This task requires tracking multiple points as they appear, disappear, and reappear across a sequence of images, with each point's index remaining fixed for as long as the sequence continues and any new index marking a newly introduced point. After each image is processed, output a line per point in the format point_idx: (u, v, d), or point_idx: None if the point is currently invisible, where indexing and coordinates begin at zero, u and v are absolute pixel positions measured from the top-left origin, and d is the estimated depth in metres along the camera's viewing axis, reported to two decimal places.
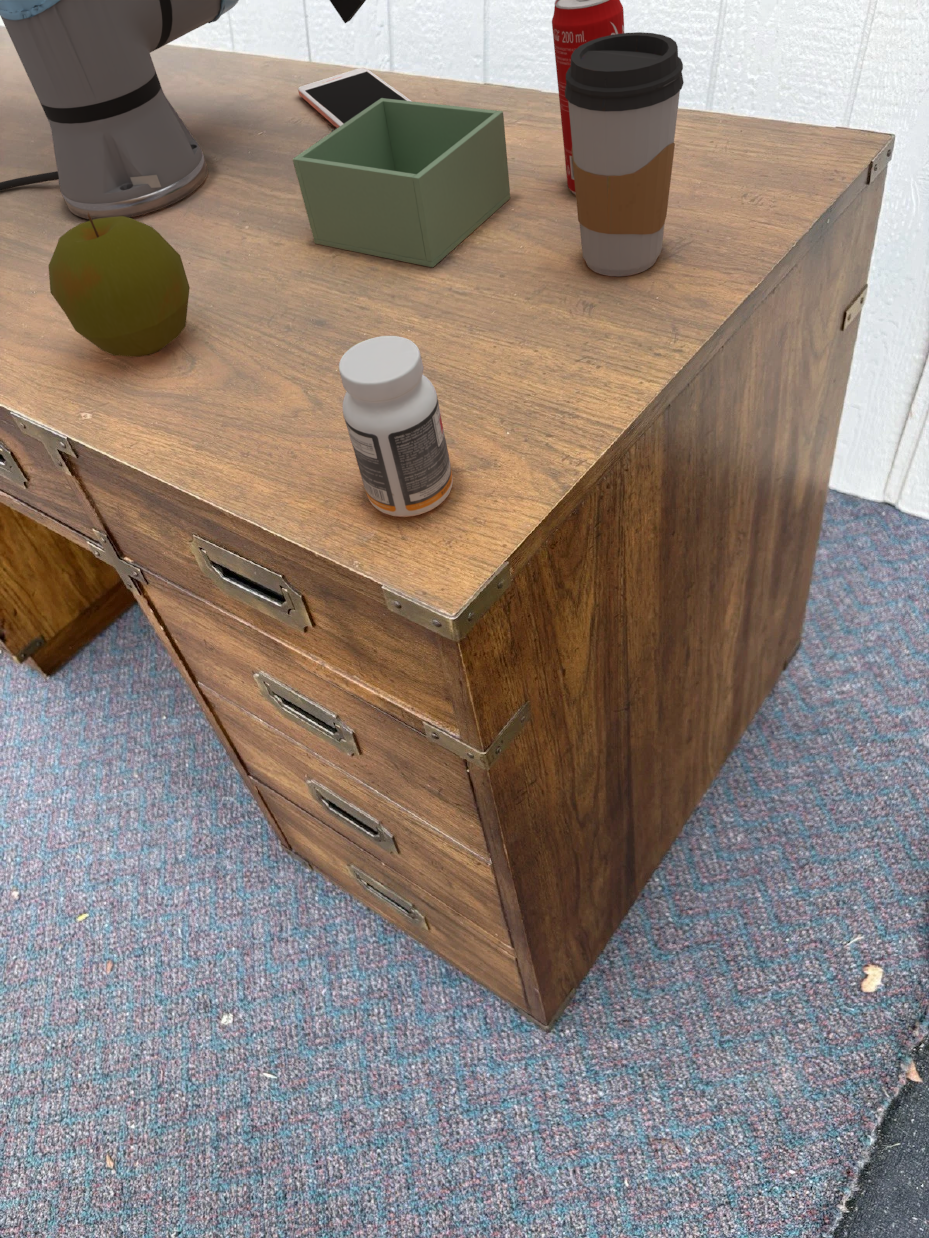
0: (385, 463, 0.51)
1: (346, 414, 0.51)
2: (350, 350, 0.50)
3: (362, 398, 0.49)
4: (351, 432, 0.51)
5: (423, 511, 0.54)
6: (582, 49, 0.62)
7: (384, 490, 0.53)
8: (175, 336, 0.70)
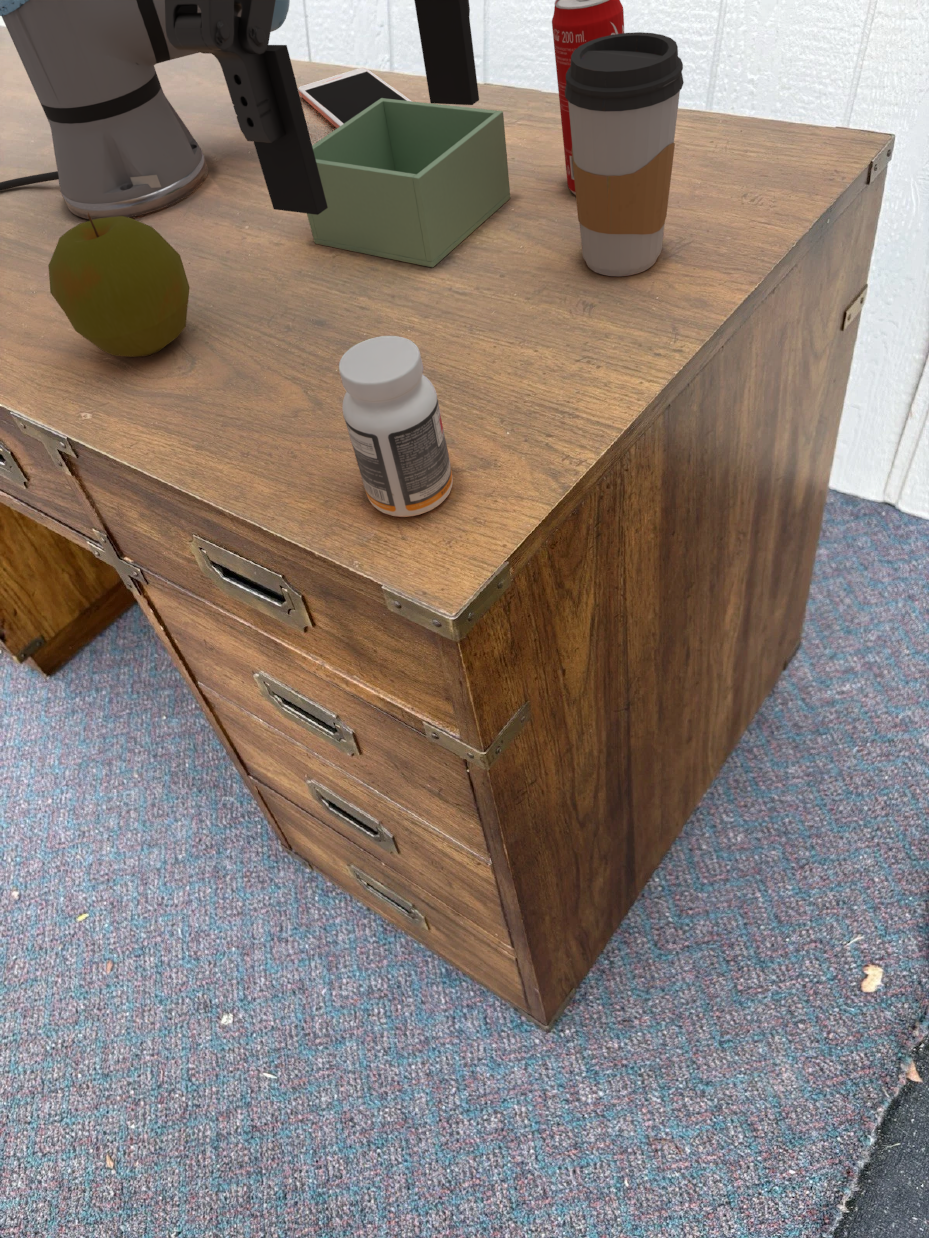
0: (385, 463, 0.51)
1: (346, 414, 0.51)
2: (350, 350, 0.50)
3: (362, 398, 0.49)
4: (351, 432, 0.51)
5: (423, 510, 0.54)
6: (582, 49, 0.62)
7: (384, 490, 0.53)
8: (175, 336, 0.70)
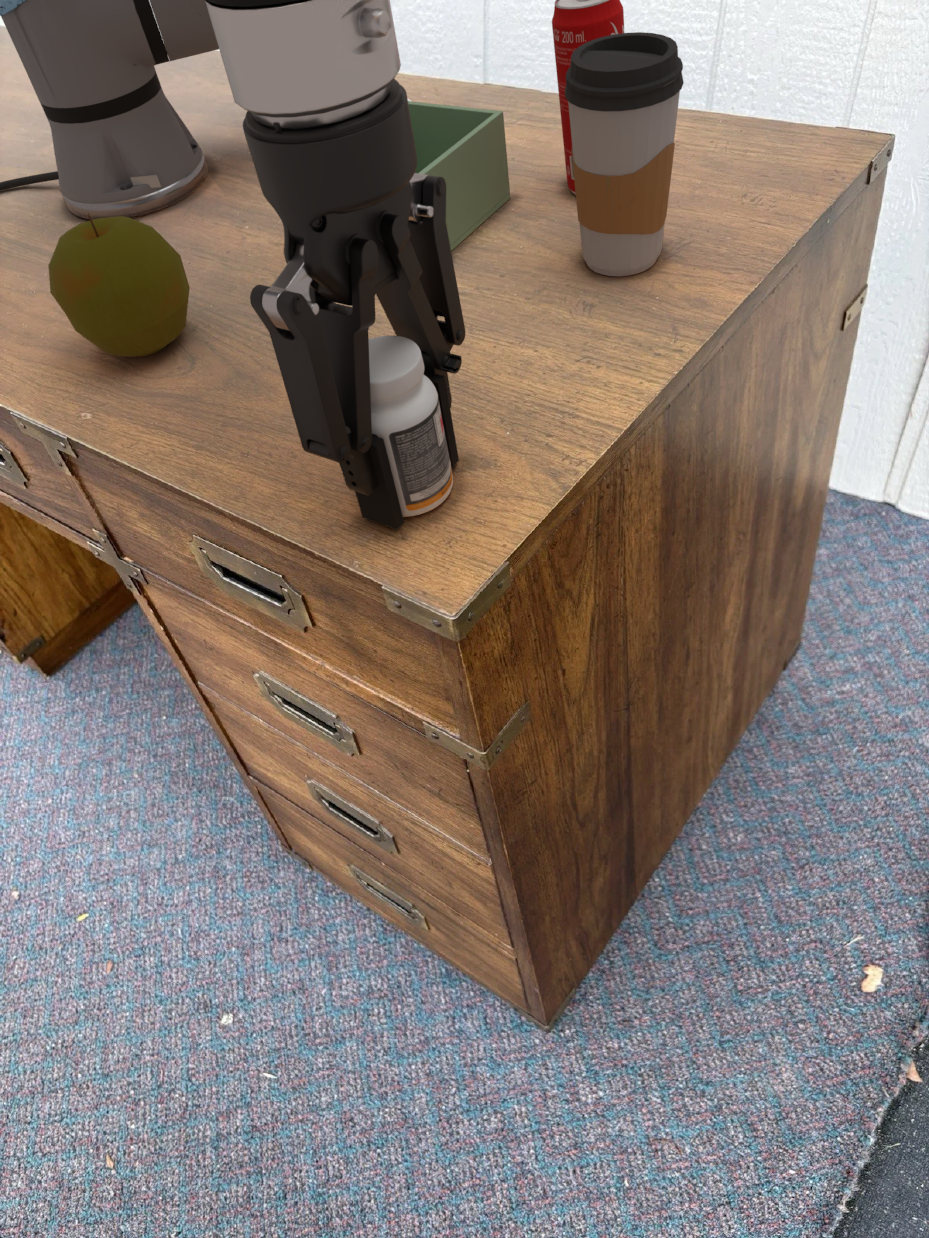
0: None
1: None
2: None
3: None
4: None
5: (423, 510, 0.54)
6: (582, 49, 0.62)
7: None
8: (175, 336, 0.70)
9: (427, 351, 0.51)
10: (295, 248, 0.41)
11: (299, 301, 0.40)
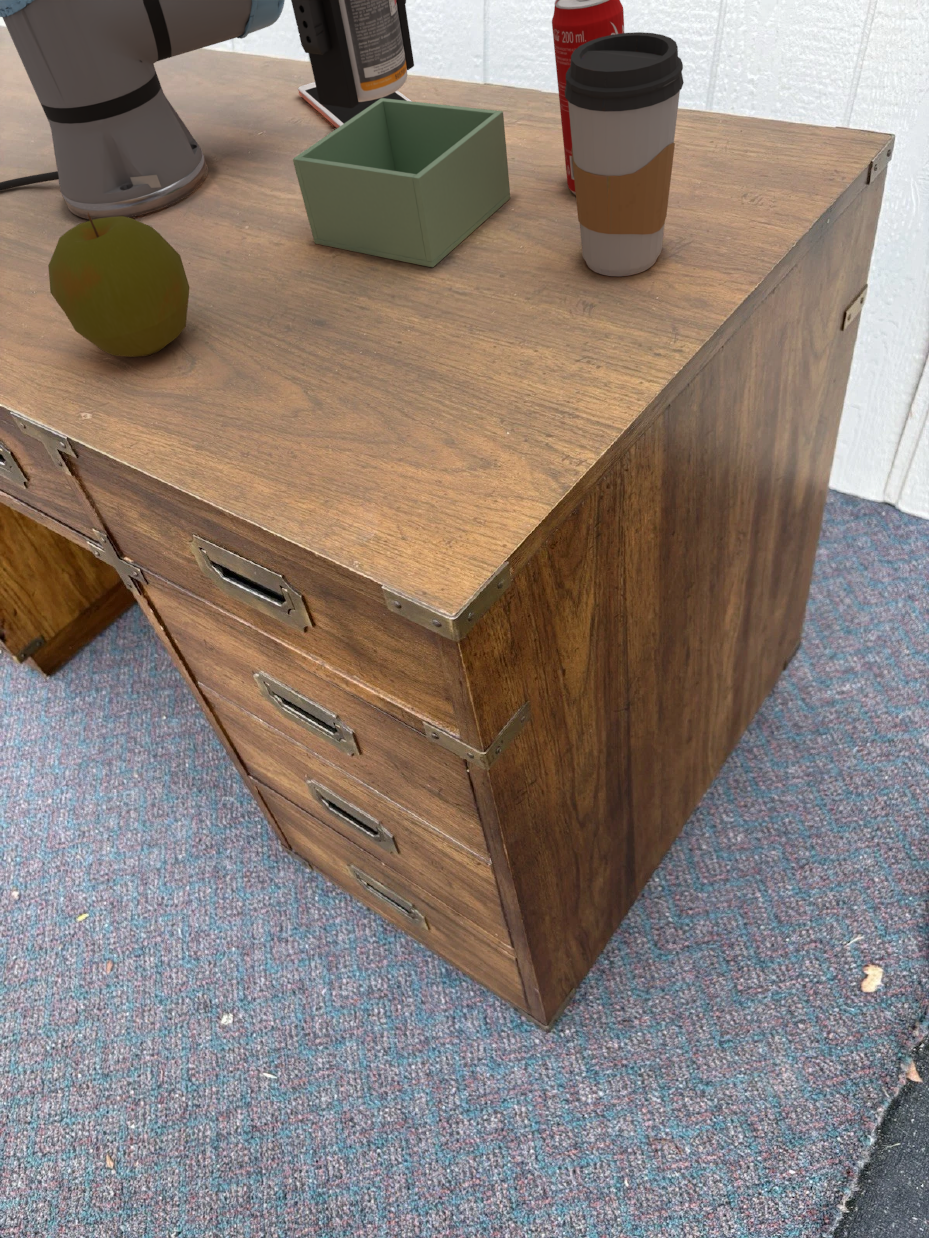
0: None
1: None
2: None
3: None
4: None
5: (377, 93, 0.57)
6: (582, 49, 0.62)
7: None
8: (175, 336, 0.70)
9: None
10: None
11: None
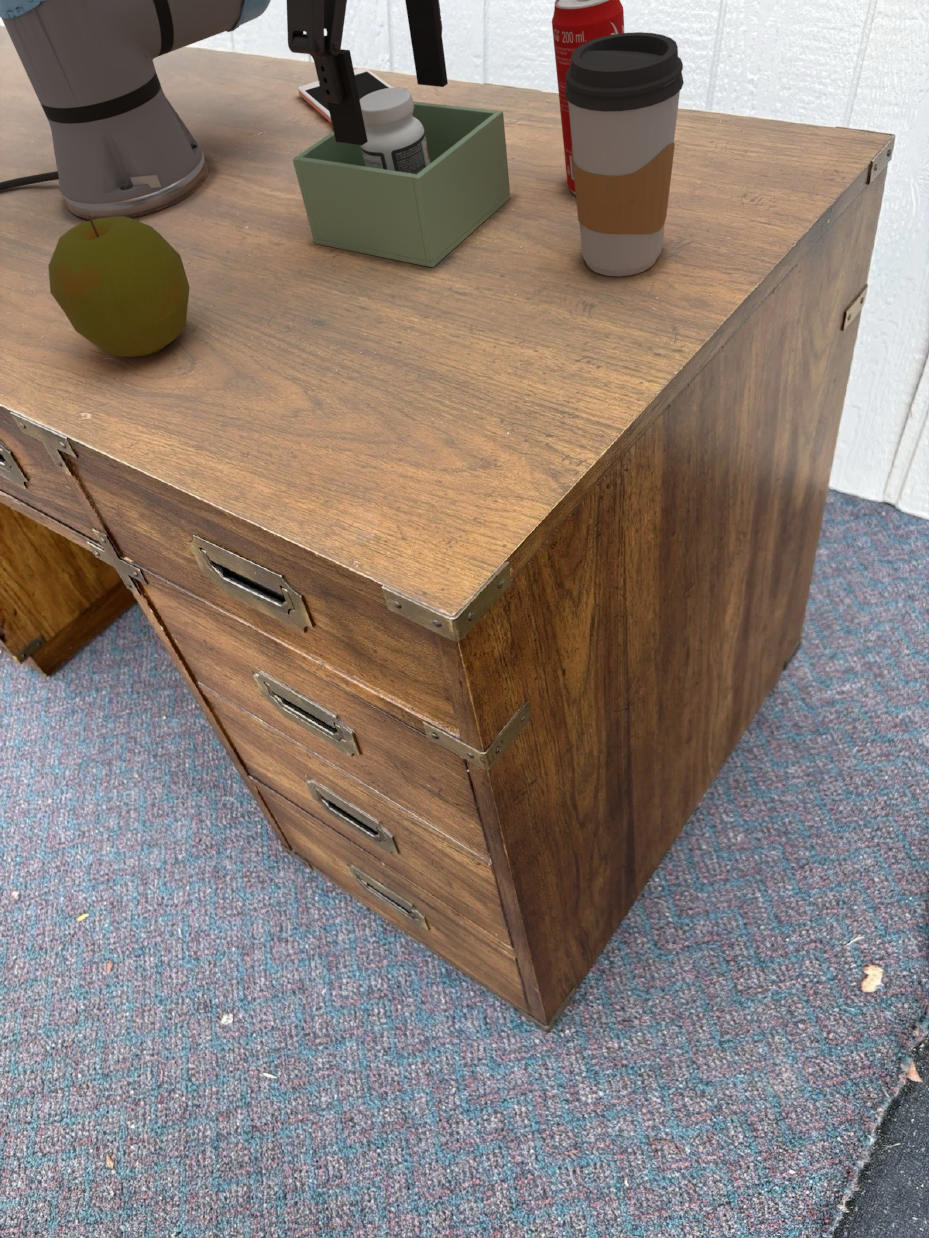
0: None
1: None
2: (364, 97, 0.74)
3: (372, 124, 0.72)
4: (366, 156, 0.75)
5: None
6: (582, 49, 0.62)
7: None
8: (175, 336, 0.70)
9: None
10: None
11: None
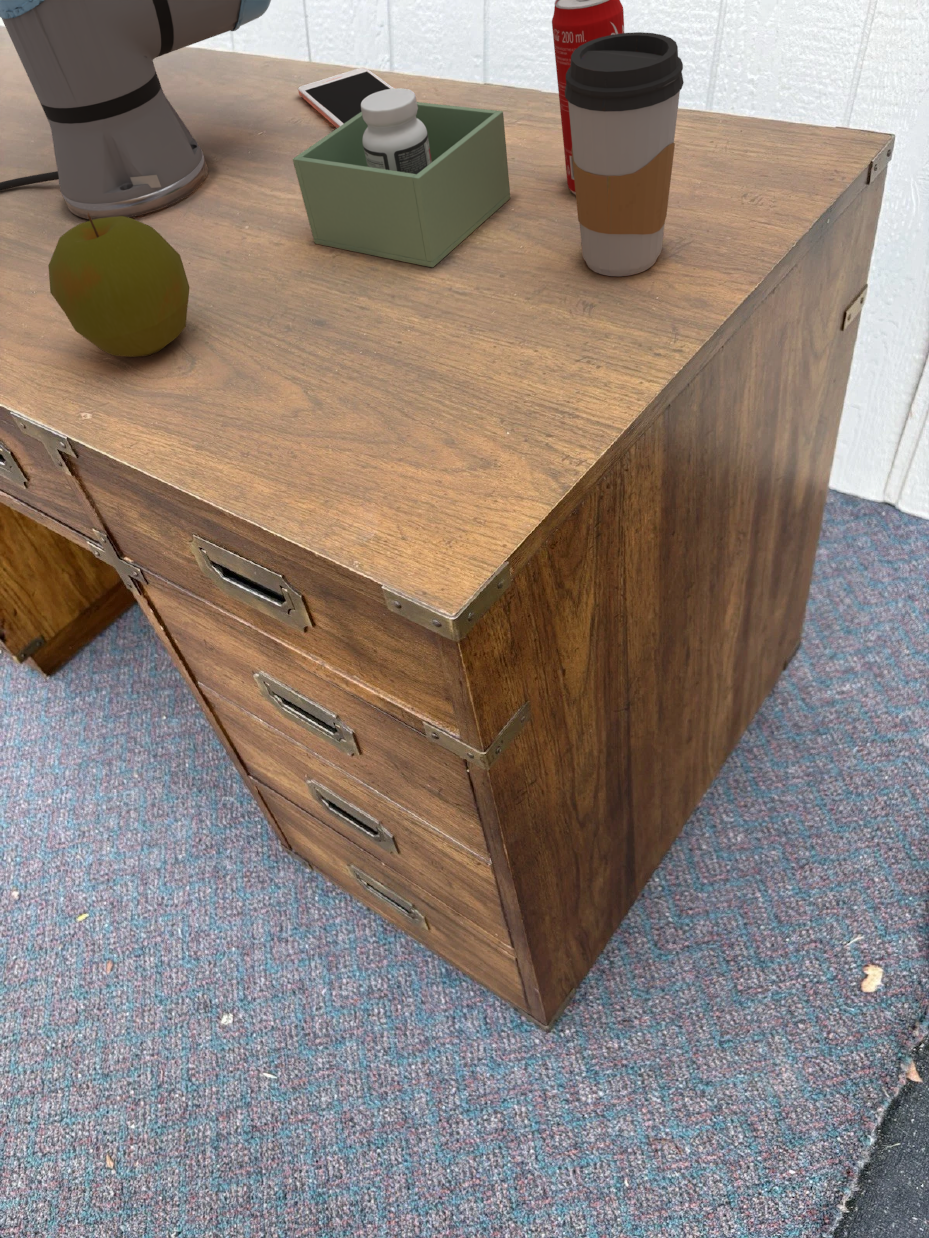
0: None
1: (365, 142, 0.74)
2: (368, 97, 0.74)
3: (376, 124, 0.72)
4: (368, 156, 0.75)
5: None
6: (582, 49, 0.62)
7: None
8: (175, 336, 0.70)
9: None
10: None
11: None
